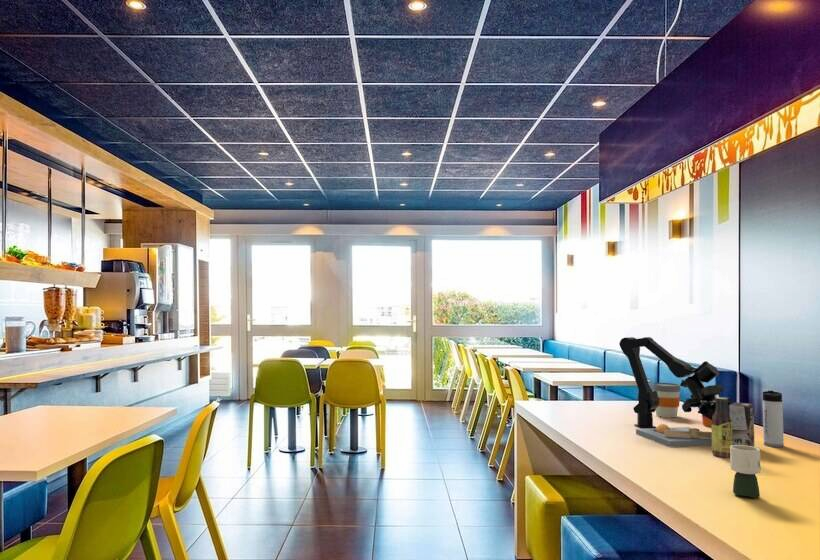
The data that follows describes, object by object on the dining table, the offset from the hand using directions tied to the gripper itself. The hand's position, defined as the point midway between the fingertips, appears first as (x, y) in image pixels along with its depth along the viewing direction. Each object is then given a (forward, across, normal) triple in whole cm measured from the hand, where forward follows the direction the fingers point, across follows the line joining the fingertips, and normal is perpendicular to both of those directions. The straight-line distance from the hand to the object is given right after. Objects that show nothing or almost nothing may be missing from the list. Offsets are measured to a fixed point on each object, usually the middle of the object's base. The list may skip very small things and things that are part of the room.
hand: (718, 423), depth 210 cm
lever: (+2, -9, +5) cm, 11 cm away
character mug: (+43, -35, -32) cm, 64 cm away
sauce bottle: (+16, -11, -5) cm, 20 cm away
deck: (-1, -10, +12) cm, 16 cm away
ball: (-6, -14, +14) cm, 20 cm away
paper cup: (-15, +20, +27) cm, 37 cm away
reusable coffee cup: (-32, +15, +43) cm, 55 cm away
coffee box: (+11, +4, +1) cm, 11 cm away
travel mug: (+9, +19, +2) cm, 21 cm away
